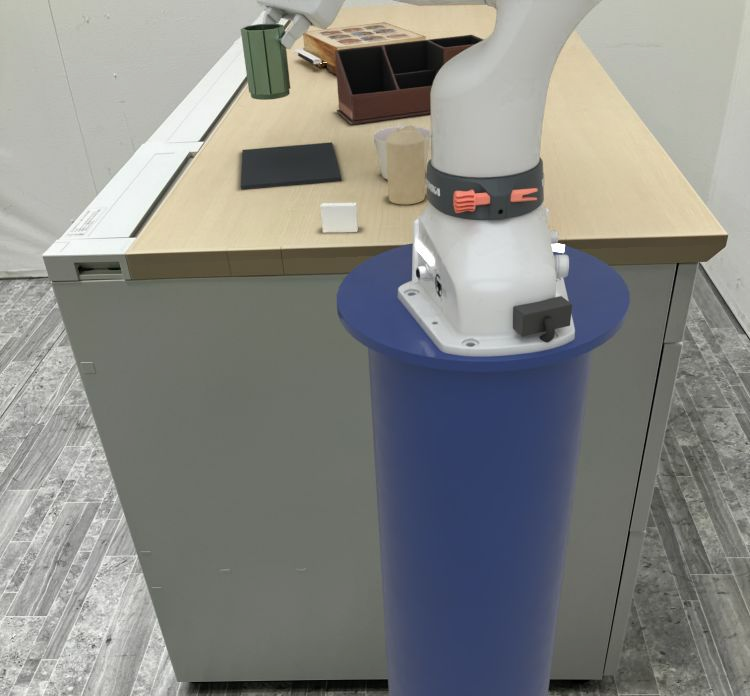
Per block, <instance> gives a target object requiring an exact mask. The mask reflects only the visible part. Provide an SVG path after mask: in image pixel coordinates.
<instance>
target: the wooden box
mask: <svg viewBox="0 0 750 696" xmlns="http://www.w3.org/2000/svg"><path fill="white" fill-rule="evenodd" d="M302 40H303V46H302V48H297V49H292V51H293V54H294V55H295V56H297V57H298V58H300V59H303V60H305V61H307V62H308V63H310V64H312V65H316V66H317V67H319V68H320V69H322V68H323V67H325V66H326V68H327V70H328V71H329V72H330V73H333V74H334V75H336V76H337V73H336V59H335V50H341V49H349V48H358V47H367V46H375V45H385V44H394V43H403V42H411V41H420V40H427V36H425V35H422V34H420V33H416V32H413V31H411V30H407V29H405V28H401V27H399V26H396V25H394V24H391V23H387V22H386V21H384V22H383V21H382V22H375V23H367V24H359V25H358V24H357V25H349V26H342V27H333V28H326V29H318V30H310V31H308V30H307V32H305V33H304V34H303V35H302ZM323 62H327V63H323ZM320 63H322V64H320Z"/></svg>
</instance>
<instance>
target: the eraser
mask: <svg viewBox="0 0 750 696" xmlns="http://www.w3.org/2000/svg"><path fill="white" fill-rule="evenodd" d="M357 204H358V203H357V202H325V203H324V202H322V203H321V204H320V206H319V207H320V216H321V217H320V219H321V226H322V228H321V229H322V233H357V232H358V231H359V230H358V229H359V221H358V206H357Z"/></svg>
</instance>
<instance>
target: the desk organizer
mask: <svg viewBox="0 0 750 696" xmlns="http://www.w3.org/2000/svg"><path fill="white" fill-rule="evenodd" d="M484 39H485V38H482V37H479V36H476V35H474V34H465V35H458V36H457V35H456V36H448V37H437V38H430V39H429V38H428V39H426V40H420V41H411V42H403V43H394V44H385V45H375V46H367V47H358V48H349V49H341V50H335V59H336V73H337V75H336V85H337V97H338V98H337V99H338V109H336V113H337V114H339V115H340V116H341V117H342V118H343V119H344V120H346V121H347V122H348V123H349V124H350V125H361V124H366V123H373V122H379V121H388V120H395V119H402V118H409V117H418V116H424V115H431V96H430V93H431V88H432V84H433V81H434V79H435V77H436V75H437V73H438V72H439V70H440V69H441V68H442V66H443V65H444V64H445V63H446V62H448V61H449V60H450V59H452V58H453V57H455V56H456V55H458V54H459V53H461V52H462V51H464V50H466V49H468V48H469V47H471V46H473V45H475V44H477V43H479V42H481V41H483V40H484Z"/></svg>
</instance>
